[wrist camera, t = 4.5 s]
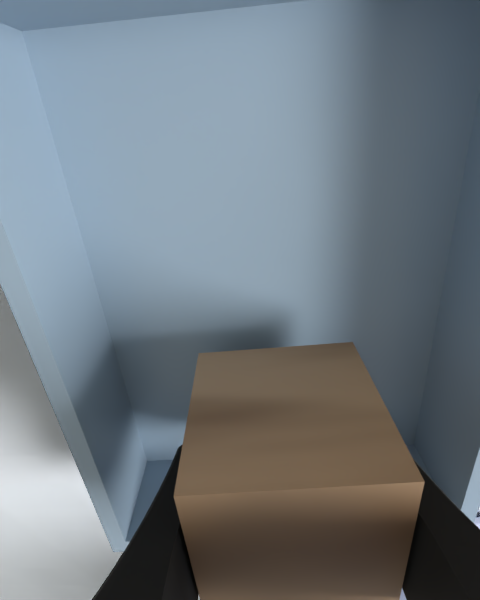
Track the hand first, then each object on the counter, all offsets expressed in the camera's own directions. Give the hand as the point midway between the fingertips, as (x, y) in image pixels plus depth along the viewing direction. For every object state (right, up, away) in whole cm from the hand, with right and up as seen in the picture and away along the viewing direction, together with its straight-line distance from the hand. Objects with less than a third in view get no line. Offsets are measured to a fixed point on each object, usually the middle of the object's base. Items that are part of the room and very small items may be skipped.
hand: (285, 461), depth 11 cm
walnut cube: (0, +1, +2) cm, 2 cm away
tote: (0, +5, +2) cm, 6 cm away
